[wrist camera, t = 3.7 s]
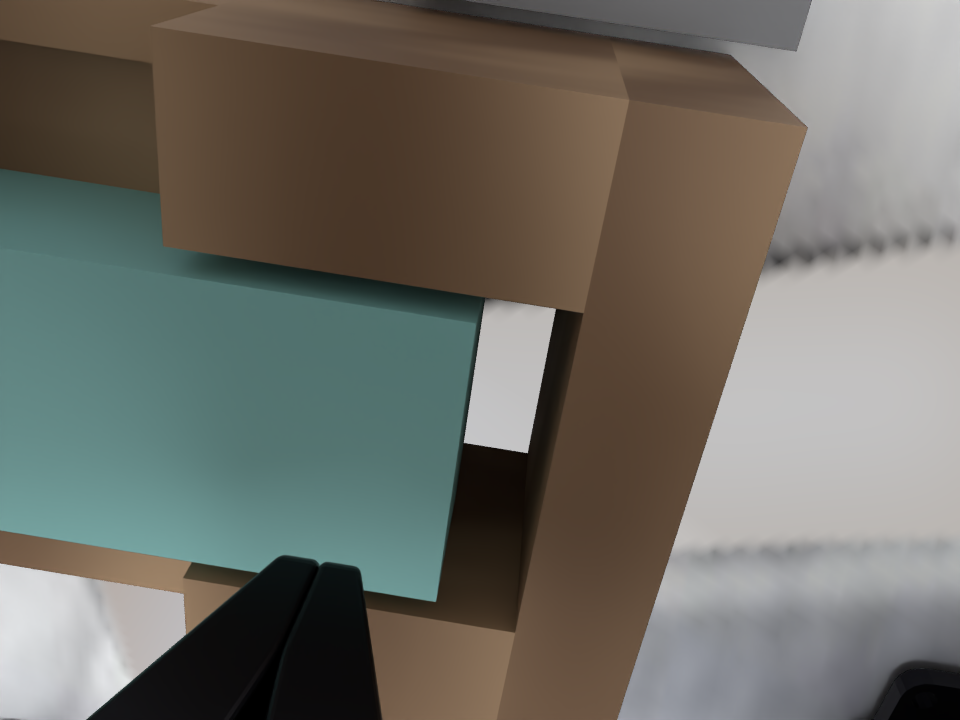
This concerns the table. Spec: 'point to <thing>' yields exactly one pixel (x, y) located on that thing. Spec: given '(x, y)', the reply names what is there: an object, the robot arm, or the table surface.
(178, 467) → the teal rectangular block
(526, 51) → the pocket board
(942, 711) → the robot arm
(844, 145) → the table surface
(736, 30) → the mat
